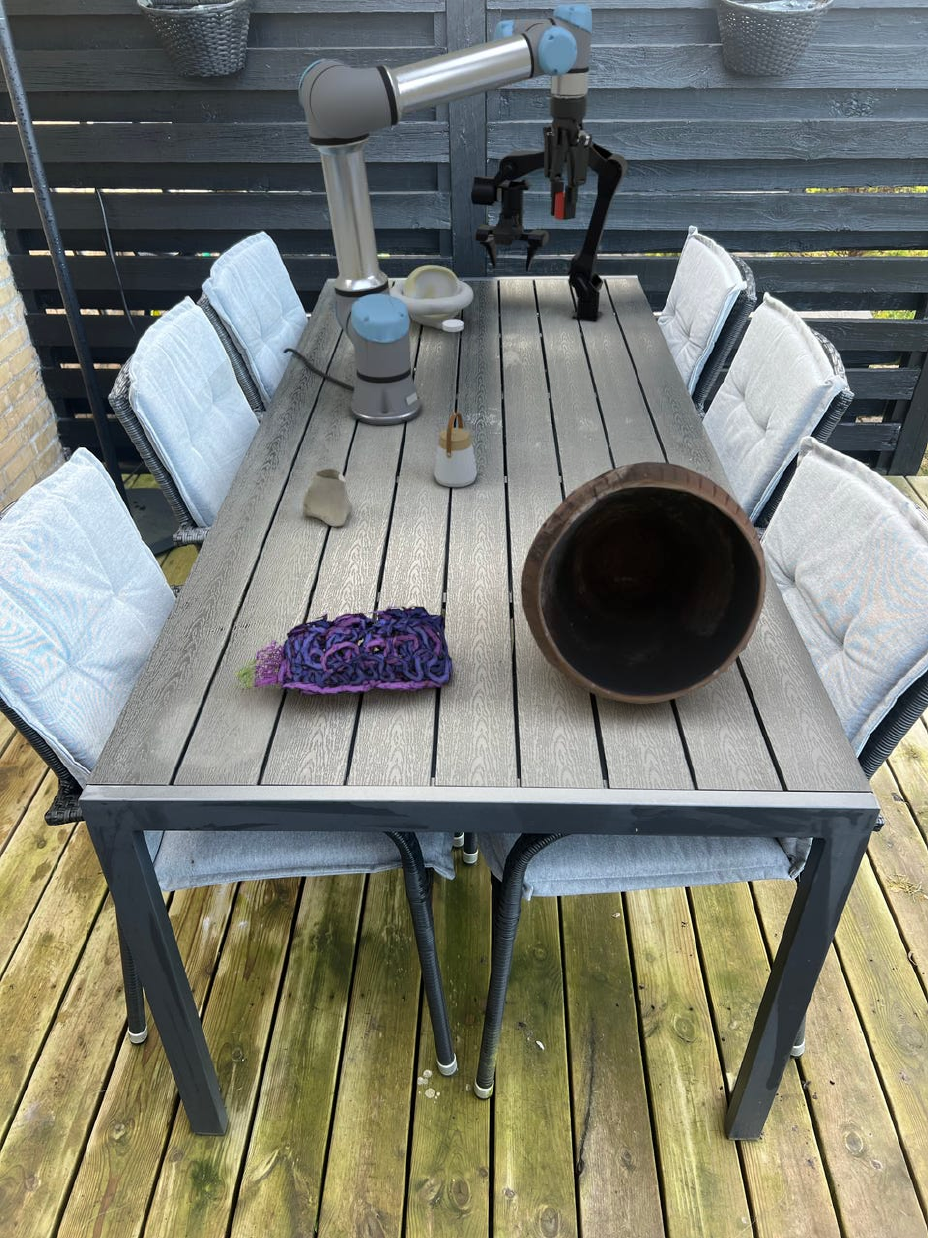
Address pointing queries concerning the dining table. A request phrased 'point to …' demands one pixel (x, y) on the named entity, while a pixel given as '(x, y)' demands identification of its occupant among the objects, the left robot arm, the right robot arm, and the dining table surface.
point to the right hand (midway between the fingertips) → (510, 269)
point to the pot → (644, 583)
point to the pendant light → (455, 442)
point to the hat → (433, 295)
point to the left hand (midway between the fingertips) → (562, 216)
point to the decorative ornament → (358, 654)
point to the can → (559, 206)
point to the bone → (327, 498)
